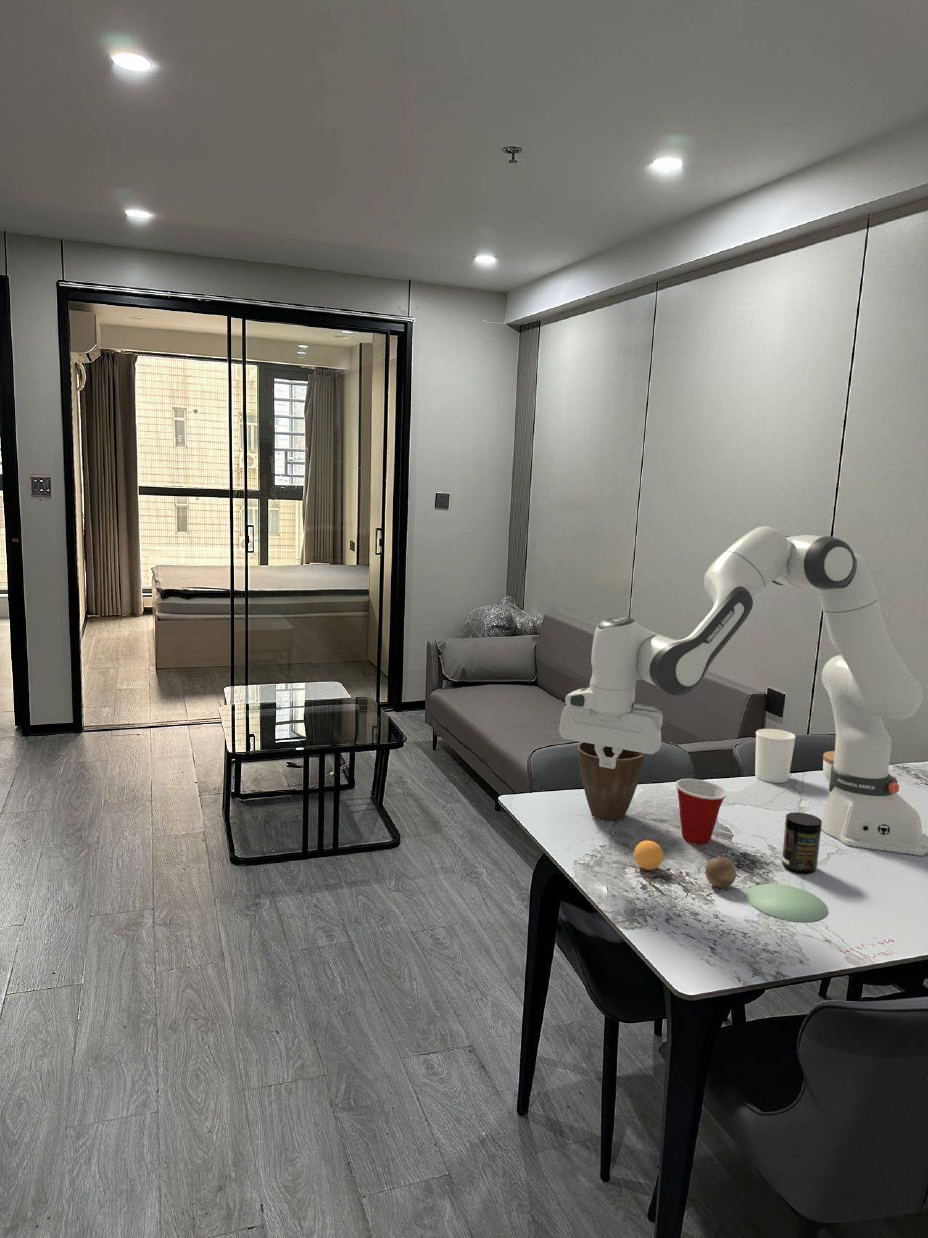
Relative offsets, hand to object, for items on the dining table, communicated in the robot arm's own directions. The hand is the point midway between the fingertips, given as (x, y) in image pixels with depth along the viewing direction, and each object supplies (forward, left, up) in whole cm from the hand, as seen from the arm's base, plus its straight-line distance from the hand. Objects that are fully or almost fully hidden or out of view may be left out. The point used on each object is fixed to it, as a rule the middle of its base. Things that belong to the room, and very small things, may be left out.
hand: (607, 767), depth 171 cm
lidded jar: (-38, -76, -19) cm, 87 cm away
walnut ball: (-23, 0, -16) cm, 29 cm away
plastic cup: (-14, -20, -19) cm, 31 cm away
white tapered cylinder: (-21, -72, -19) cm, 78 cm away
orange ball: (-9, 0, -16) cm, 19 cm away
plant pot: (+7, -22, -19) cm, 30 cm away
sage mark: (-35, 0, -19) cm, 40 cm away
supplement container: (-35, -17, -19) cm, 44 cm away
